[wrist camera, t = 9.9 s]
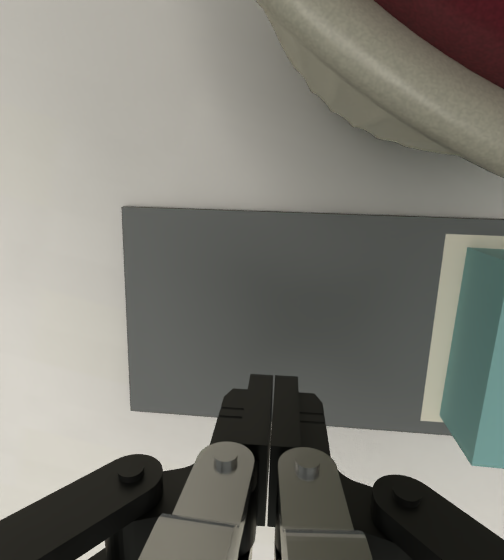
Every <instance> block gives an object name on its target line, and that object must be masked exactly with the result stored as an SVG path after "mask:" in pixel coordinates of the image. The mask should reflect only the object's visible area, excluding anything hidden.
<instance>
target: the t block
mask: <svg viewBox="0 0 504 560" xmlns="http://www.w3.org/2000/svg"><path fill="white" fill-rule="evenodd" d="M440 417H441V419H442V420H443V422H444V423H445V425H446V426H447V428H448V429H449V431H450V433H451V434H452V436H453V437H454V439H455V440H456V442H457V443H458V445H459V447H460V448H461V450H462V451H463V453H464V454H465V456H466V458H467V459H468V461H469V462H470V464H471V465H472V466H483V467H493V468H503V469H504V249H489V248H471V247H467V252H466V258H465V264H464V270H463V276H462V282H461V288H460V294H459V300H458V306H457V312H456V318H455V324H454V330H453V336H452V343H451V349H450V355H449V361H448V367H447V373H446V379H445V385H444V391H443V397H442V403H441V409H440Z"/></svg>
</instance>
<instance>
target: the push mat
mask: <svg viewBox="0 0 504 560" xmlns="http://www.w3.org/2000/svg"><path fill="white" fill-rule="evenodd" d="M122 228H123V250H124V272H125V295H126V317H127V339H128V362H129V384H130V406H131V411H140V412H153V413H166V414H179V415H192V416H205V417H218V416H219V412H220V409H221V405H222V402H223V398H224V396H225V395H226V394H227V393H228V392H230V391H231V390H232V389H233V388H235V389H248V385H249V379H250V374H263V375H273V397H272V415H273V400H274V385H275V375H281V376H298V390H299V392H301V393H315V395H316V396H317V397H318V398H319V399H320V400H321V402H322V403H323V409H324V416H325V424H326V426H334V427H347V428H360V429H373V430H386V431H399V432H412V433H425V434H438V435H451V436H452V434H451V433H450V431H449V429H448V428H447V426H446V425H445V423H444V422H443V420H442V419H441V417H440V409H441V403H442V397H443V391H444V385H445V379H446V373H447V367H448V361H449V355H450V349H451V343H452V336H453V330H454V324H455V318H456V312H457V306H458V300H459V294H460V288H461V282H462V276H463V270H464V264H465V258H466V252H467V247H471V248H489V249H504V219H475V218H446V217H417V216H388V215H358V214H329V213H300V212H270V211H241V210H212V209H182V208H153V207H122Z"/></svg>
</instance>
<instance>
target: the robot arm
mask: <svg viewBox="0 0 504 560" xmlns="http://www.w3.org/2000/svg"><path fill="white" fill-rule="evenodd" d="M272 397H273V375H263V374H250V379H249V385H248V389H235V388H233V389H232V390H231V391H230V392H228V393H227V394H226V395H225V396H224V398H223V402H222V405H221V409H220V412H219V416H218V419H217V422H216V426H215V429H214V432H213V436H212V439H211V443H210V445H209V446H207V447H205V448H204V449H203V450H202V451H201V452H200V453H199V455H198V456H197V459H196V461H195V463H194V464H193V465H190V466H188V467H185V468H180V469H175V470H169V471H163V469H162V465H161V464H160V462H159V461H158V460H157V459H155V458H154V457H152V456H149V455H143V454H134V455H128V456H124V457H121V458H119V459H117V460H115V461H113V462H111V463H109V464H107V465H105V466H103V467H101V468H99V469H97V470H96V471H94V472H92V473H90V474H88V475H86V476H84V477H82V478H80V479H78V480H76V481H75V482H73V483H71V484H69V485H67V486H65V487H63V488H61V489H59V490H57V491H56V492H54V493H52V494H50V495H48V496H46V497H44V498H42V499H40V500H38V501H37V502H35V503H33V504H31V505H29V506H27V507H25V508H23V509H21V510H19V511H17V512H16V513H14V514H12V515H10V516H8V517H6V518H4V519H2V520H0V560H76V559H77V558H79V557H80V556H82V555H83V554H85V553H86V552H88V551H89V550H91V549H92V548H94V547H95V546H97V545H98V544H100V543H101V542H103V541H104V540H105V547H106V548H104V549H103V550H101V551H100V552H98V553H97V554H95V555H94V556H92V557H91V558H89V559H88V560H251V559H252V546H253V544H254V541H255V534H256V526H265V516H266V501H267V487H268V472H269V498H268V526H269V527H275V546H274V560H504V540H503V539H502V538H500V537H499V536H498V535H496V534H495V533H493V532H492V531H490V530H489V529H488V528H486V527H485V526H483V525H482V524H480V523H479V522H478V521H476V520H475V519H473V518H472V517H471V516H469V515H468V514H466V513H465V512H463V511H462V510H461V509H459V508H458V507H456V506H455V505H453V504H452V503H451V502H449V501H448V500H446V499H445V498H444V497H442V496H441V495H439V494H438V493H436V492H435V491H434V490H432V489H431V488H429V487H428V486H426V485H425V484H423V483H422V482H420V481H418V480H416V479H413V478H411V477H407V476H403V475H387V476H383V477H381V478H379V479H378V480H377V481H376V482H375V483H374V485H373V487H370V486H367V485H364V484H361V483H358V482H355V481H353V480H351V479H349V478H347V477H346V476H344V475H343V474H341V473H340V472H339V471H338V470H337V466H336V464H335V462H334V461H333V459H332V458H331V456H330V450H329V443H328V436H327V429H326V424H325V416H324V409H323V403H322V402H321V400H320V399H319V398H318V397H317V396H316V395H315V393H301V392H299V390H298V376H281V375H275V385H274V400H273V415H272ZM271 424H272V430H271ZM270 443H271V444H270ZM269 457H270V471H269Z"/></svg>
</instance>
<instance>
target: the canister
mask: <svg viewBox="0 0 504 560" xmlns="http://www.w3.org/2000/svg"><path fill="white" fill-rule="evenodd" d="M255 1H256V2H257V3H258V4H259V5H260V6H261V7H262V8H263V10H264V11H265V13H266V15H267V17H268V19H269V21H270V23H271V25H272V26H273V28H274V31H275V33H276V35H277V37H278V39H279V41H280V44H281V46H282V48H283V49H284V51H285V53H286V55H287V57H288V58H289V60H290V62H291V64H292V65H293V67H294V68H295V70H297V71H298V72H299V73H300V74H301V75H302V76H303V77H304V79H305V80H306V82H307V85H308V87H309V89H310V91H311V92H312V93H314V94H316V95H318V96H319V97H320V98H321V99H322V100H323V101H324V102H325V103H326V104H327V105H328V107H329V109H330V111H331V112H334V113H337V114H339V115H340V116H342V117H343V118H344V119H346V120H347V121H348V122H349V123H350V124H351V126H352V127H355V128H361V129H363V130H366V131H368V132H369V133H371V134H372V135H373V136H374V137H376V138H377V139H381V140H387V141H394V142H397V143H399V144H400V145H402V146H405V147H409V148H413V149H418V150H423V151H428V152H434V153H442V154H449V155H458V156H460V157H462V158H464V159H466V160H468V161H470V162H472V163H474V164H476V165H478V166H479V167H481V168H483V169H485V170H487V171H489V172H492V173H494V174H496V175H498V176H500V177H503V178H504V0H255Z"/></svg>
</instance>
